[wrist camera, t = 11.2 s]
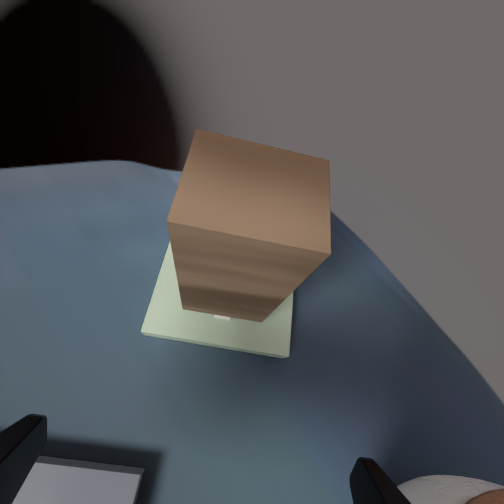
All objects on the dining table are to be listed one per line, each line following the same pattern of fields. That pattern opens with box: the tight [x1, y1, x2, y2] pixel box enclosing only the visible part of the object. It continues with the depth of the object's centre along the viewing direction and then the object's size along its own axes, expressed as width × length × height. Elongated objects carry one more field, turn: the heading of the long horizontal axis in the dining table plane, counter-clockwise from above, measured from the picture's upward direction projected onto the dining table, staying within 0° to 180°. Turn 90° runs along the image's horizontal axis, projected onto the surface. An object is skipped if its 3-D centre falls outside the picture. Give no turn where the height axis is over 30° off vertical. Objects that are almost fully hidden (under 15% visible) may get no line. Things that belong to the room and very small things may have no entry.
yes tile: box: [141, 243, 293, 359], centre depth 18 cm, size 8×9×1 cm
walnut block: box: [167, 129, 331, 322], centre depth 13 cm, size 4×5×10 cm
